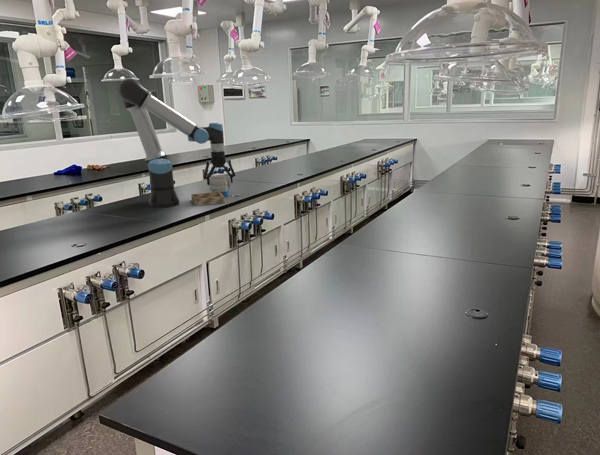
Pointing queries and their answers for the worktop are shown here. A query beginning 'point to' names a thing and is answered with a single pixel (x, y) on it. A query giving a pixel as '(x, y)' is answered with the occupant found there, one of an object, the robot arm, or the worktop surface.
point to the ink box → (220, 183)
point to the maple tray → (207, 198)
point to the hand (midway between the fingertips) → (220, 189)
